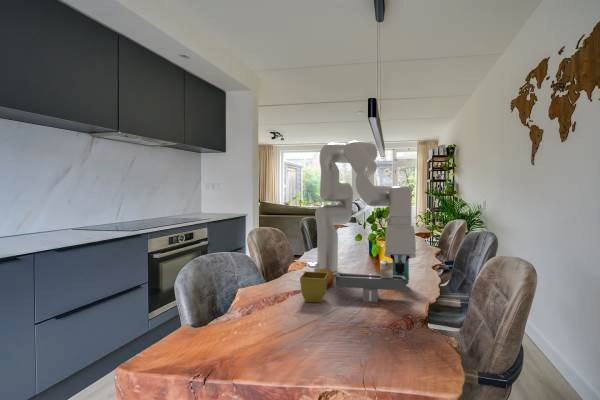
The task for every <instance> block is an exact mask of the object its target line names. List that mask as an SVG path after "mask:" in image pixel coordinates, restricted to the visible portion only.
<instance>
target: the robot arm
mask: <svg viewBox="0 0 600 400" xmlns="http://www.w3.org/2000/svg"><path fill="white" fill-rule="evenodd" d="M377 157H378V148H377V146H376V145H375V143H373V142H371V141H363V140H361V141H360V140H352V141H348V142H347V143H340V142H329V143H326V144H324V145H323V146H322V147H321V150H320V151H319V166H320V182H319V183H320V184H319V198H320V200H322V201H323V202H328V203H329V202H330V203H331V204H322V205H319V206H318V207H317V208H316V210H315V213H314V216H315V222H316V232H317V234H316V235H317V236H316V237H317V239H316V243H317V249H316V250H317V259H316V260H317V261H316V262H314V263H312V262H308V263H307V267H308V268H311V269H312V268H313V272H316V271H317V270H319V269H328V270H330V271H331V272H332V273H333V276H336V275H337V273H342V270H341V269H340V268H339V267H338V266H339V263H338V262H339V253H338V252H339V238H338V237H339V234H338V231H337V229H336V227H335V226H337V225H346V224H348V223H350V222H351V220H352V217H353V216H352V215H353V204H354V203H353V200H354V189H353V186H352V185H351V184H350V183H349V182H347V181H340V170H339V169H340V168H339V167H338V165H337V164H336V163H338V164H339V163H341V164H349V165H350V166H351V167H352V169H353V171H354V172H355V174H356V176H355V189H356V192H357V194H358V195H359V196H360V198H361V200H362V201H363V202H364V203H365V204H366V205H367V206H369V207H388V217H385V218H384V223H388V224H387V225H386V229H385V236H384V237H385V238H384V252H383V253H384V254H383V256H384V257H386V258H388V259H389V258H390V259H391V261H392V262H393V261H394V262H395V272H397V274H398V275H399V274H401V275H402V272H404V263H405V262H406V261H407V260H408V259H409V260H410V259H414V258H416V257H417V254H416V250H417V244H416V243H417V242H416V232H415V226H414V225H412V205H413V204H412V202H413V201H412V200H413V199H412V195H413V194H412V192H413V191H412V188H411V187H410V186H407V185H405V186H404V185H397V186H396V185H375V184H373V183H372V182H371V179H369V178H371V177H372V176H373V175H374V174H375V173H376V171H377V169H378V166H377V163H376V162H375V160H376V159H377ZM334 202H337V203H338V204H332V203H334ZM398 255H402V257H401V260H400V263H399V260H398Z"/></svg>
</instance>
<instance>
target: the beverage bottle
mask: <svg viewBox="0 0 600 400" xmlns="http://www.w3.org/2000/svg"><path fill="white" fill-rule="evenodd" d="M401 257H402V255H398V260H399V263H400V260H401ZM409 262H410V259H408V260H407V261H406V262H405V263H404V272H402V275H401V274H399V275H398V274H397V272H395V262H394V261H393V260H392V263H393V275H394V276H405V278H406V286H407V285H409V283H410V281H409V280H410V267H409V266H410V265H409V264H410V263H409Z"/></svg>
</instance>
